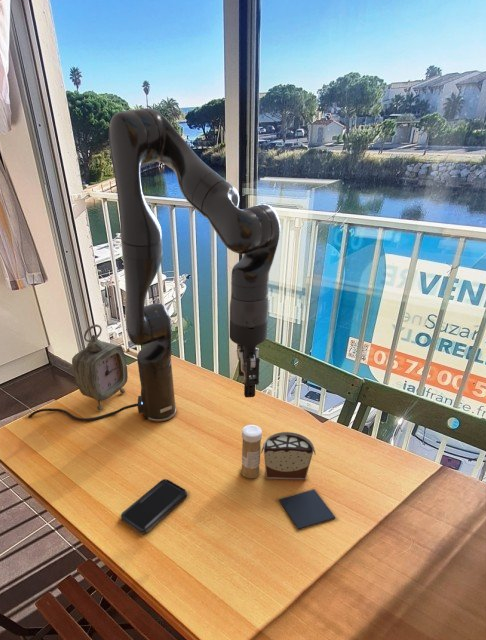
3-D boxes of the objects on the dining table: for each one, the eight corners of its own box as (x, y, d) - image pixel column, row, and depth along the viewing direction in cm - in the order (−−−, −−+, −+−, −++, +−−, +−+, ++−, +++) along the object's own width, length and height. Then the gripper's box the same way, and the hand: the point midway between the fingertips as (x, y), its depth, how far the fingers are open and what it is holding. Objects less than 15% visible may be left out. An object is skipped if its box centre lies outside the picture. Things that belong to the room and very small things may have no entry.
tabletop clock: (100, 415, 135) (84, 339, 120) (78, 407, 139) (60, 333, 124) (131, 391, 144) (119, 319, 129) (109, 384, 148) (96, 313, 134)
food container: (308, 462, 113) (313, 430, 107) (311, 479, 108) (316, 447, 102) (259, 461, 114) (260, 430, 109) (260, 478, 110) (261, 446, 104)
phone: (188, 491, 105) (143, 532, 96) (189, 495, 106) (144, 535, 97) (164, 477, 110) (118, 515, 101) (164, 480, 110) (119, 518, 101)
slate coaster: (298, 529, 96) (298, 528, 96) (278, 500, 103) (279, 499, 103) (335, 518, 98) (335, 517, 98) (313, 490, 105) (314, 489, 105)
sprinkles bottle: (240, 466, 113) (241, 424, 105) (258, 466, 113) (260, 423, 105) (242, 479, 109) (242, 436, 102) (261, 479, 109) (263, 435, 101)
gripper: (225, 303, 94) (225, 369, 104) (234, 334, 83) (233, 405, 93) (261, 301, 95) (258, 367, 104) (274, 331, 83) (269, 403, 93)
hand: (246, 385), depth 98 cm, fingers open, 8 cm apart
